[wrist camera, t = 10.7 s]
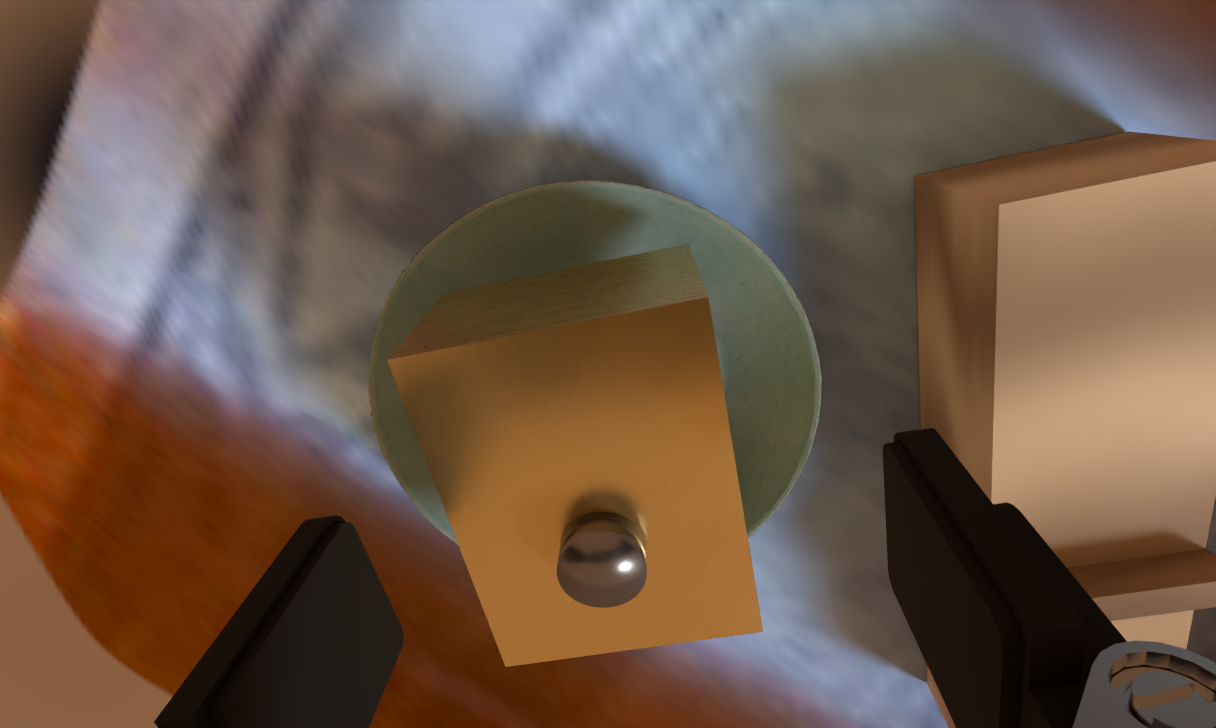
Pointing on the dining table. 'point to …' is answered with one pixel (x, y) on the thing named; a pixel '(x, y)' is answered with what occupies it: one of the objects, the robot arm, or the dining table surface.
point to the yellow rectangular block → (585, 456)
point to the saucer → (602, 230)
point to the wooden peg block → (1083, 359)
